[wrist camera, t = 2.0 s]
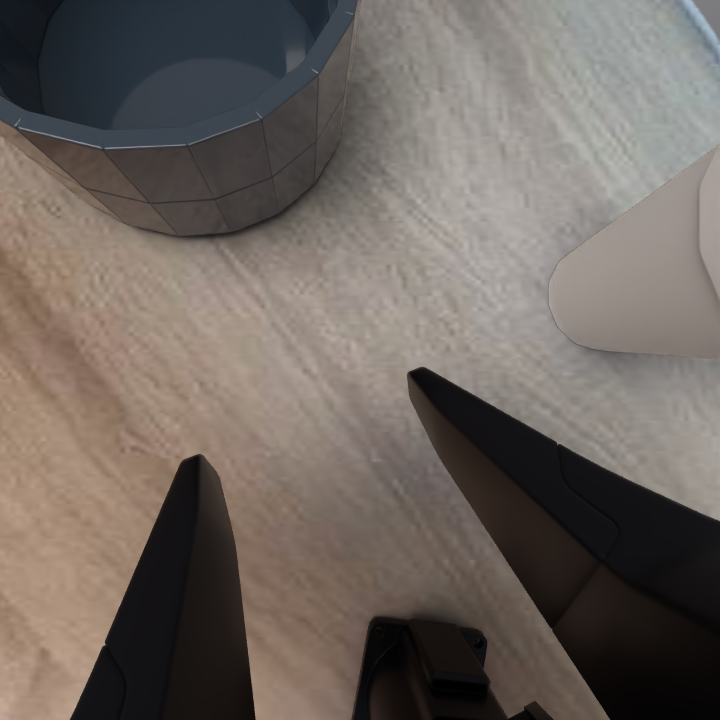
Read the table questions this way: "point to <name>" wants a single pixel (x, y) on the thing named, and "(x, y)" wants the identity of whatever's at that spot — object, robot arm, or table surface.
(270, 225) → the table surface
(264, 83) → the bowl
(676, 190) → the foam cup
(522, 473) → the robot arm
